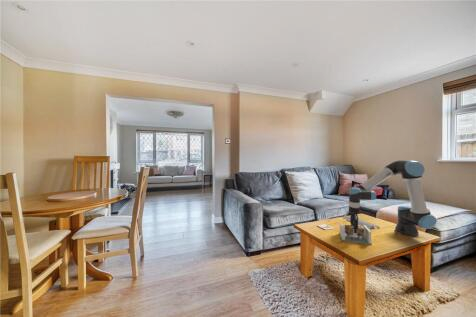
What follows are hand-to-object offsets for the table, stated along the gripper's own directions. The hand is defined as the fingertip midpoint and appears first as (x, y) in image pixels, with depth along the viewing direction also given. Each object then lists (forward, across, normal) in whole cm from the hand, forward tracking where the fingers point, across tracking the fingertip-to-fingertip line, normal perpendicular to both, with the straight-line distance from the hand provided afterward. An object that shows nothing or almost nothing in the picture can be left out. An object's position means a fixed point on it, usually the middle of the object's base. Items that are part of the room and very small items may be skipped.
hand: (353, 234), depth 150 cm
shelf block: (-1, 0, 0) cm, 1 cm away
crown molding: (+4, -42, +14) cm, 45 cm away
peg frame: (+3, 0, 0) cm, 3 cm away
